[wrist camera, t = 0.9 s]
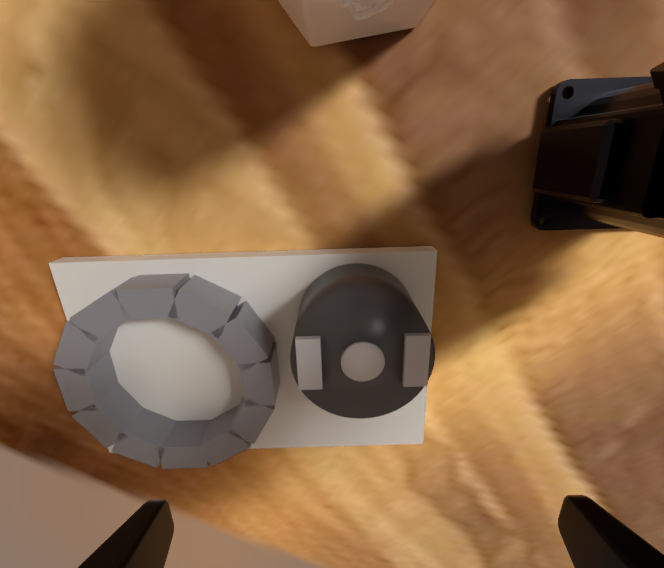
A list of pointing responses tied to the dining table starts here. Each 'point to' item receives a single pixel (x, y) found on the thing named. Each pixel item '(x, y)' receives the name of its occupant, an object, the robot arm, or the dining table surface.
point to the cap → (360, 343)
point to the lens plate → (211, 352)
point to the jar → (353, 18)
